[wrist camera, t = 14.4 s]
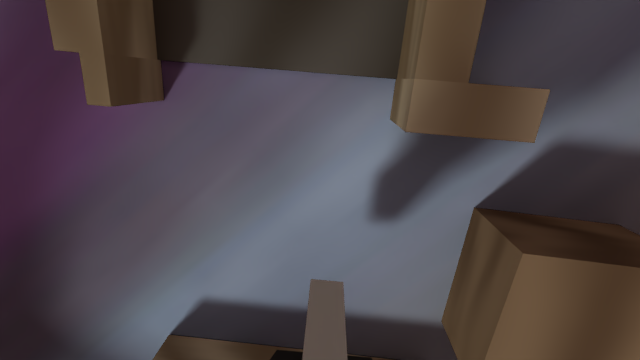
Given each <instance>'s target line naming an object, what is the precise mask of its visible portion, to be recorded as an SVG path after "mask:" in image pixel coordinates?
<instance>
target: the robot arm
mask: <svg viewBox="0 0 640 360" xmlns="http://www.w3.org/2000/svg"><path fill="white" fill-rule="evenodd" d="M270 360H372V358H371V357H361V356H350V355H347V342H346V324H345V306H344V288H343V282H337V281H326V280H315V279H311V283H310V292H309V301H308V310H307V320H306V329H305V338H304V347H303V352H298V351H287V350H276V352H275V353H274V354H273V356H272V357H271V359H270Z"/></svg>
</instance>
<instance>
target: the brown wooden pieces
mask: <svg viewBox="0 0 640 360" xmlns="http://www.w3.org/2000/svg"><path fill="white" fill-rule="evenodd" d="M45 3H46V8H47V14H48V19H49V25H50V30H51V36H52V41H53V47H54V50H59V51H69V52H78V53H79V56H80V62H81V68H82V74H83V81H84V87H85V93H86V100H87V105H98V106H110V107H112V106H120V105H128V104H137V103H145V102H154V101H162V100H164V94H163V81H162V69H161V60H166V61H178V62H191V63H203V64H216V65H228V66H241V67H253V68H266V69H278V70H291V71H303V72H316V73H328V74H341V75H353V76H366V77H378V78H391V79H396V82H395V89H394V96H393V102H392V109H391V116H390V120H391V121H393V122H394V123H395V124H397V125H398V126H399V127H400V128H402V129H403V130H404V131H405V132H414V133H425V134H437V135H449V136H460V137H472V138H484V139H495V140H507V141H519V142H530V143H535V139H536V136H537V133H538V129H539V126H540V123H541V119H542V116H543V113H544V109H545V106H546V103H547V99H548V96H549V93H550V90H549V89H536V88H524V87H511V86H499V85H486V84H474V83H469V78H470V73H471V69H472V64H473V60H474V55H475V51H476V46H477V41H478V37H479V32H480V28H481V23H482V19H483V14H484V9H485V5H486V0H45ZM276 350H287V351H298V352H303V349H294V348H285V347H276V346H267V345H258V344H249V343H240V342H231V341H222V340H213V339H204V338H195V337H186V336H177V335H169V336H168V337H167V339H166V340H165V342H164V343H163V345H162V346H161V348H160V349H159V351H158V352H157V354H156V355H155V357H154V358H153V360H270V359H271V357H272V356H273V354H274V353H275V352H276ZM347 355H348V354H347ZM350 356H357V355H350ZM361 357H366V356H361ZM371 358H372V360H394V359H385V358H375V357H371Z"/></svg>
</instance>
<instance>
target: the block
mask: <svg viewBox="0 0 640 360" xmlns="http://www.w3.org/2000/svg"><path fill="white" fill-rule="evenodd" d="M442 324H443V326H444V329H445V331H446V333H447V336H448V338H449V340H450V343H451V345H452V347H453V350H454V352H455V354H456V357H457V359H458V360H640V235H638V234H636V233H634V232H632V231H630V230H628V229H626V228H624V227H622V226H620V225H615V224H607V223H599V222H591V221H582V220H574V219H566V218H557V217H549V216H541V215H533V214H524V213H516V212H508V211H499V210H491V209H483V208H475V207H474V210H473V213H472V217H471V220H470V224H469V227H468V231H467V234H466V238H465V241H464V245H463V248H462V252H461V255H460V259H459V262H458V265H457V269H456V272H455V276H454V279H453V283H452V286H451V290H450V293H449V297H448V300H447V304H446V307H445V310H444V314H443V317H442Z"/></svg>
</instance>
